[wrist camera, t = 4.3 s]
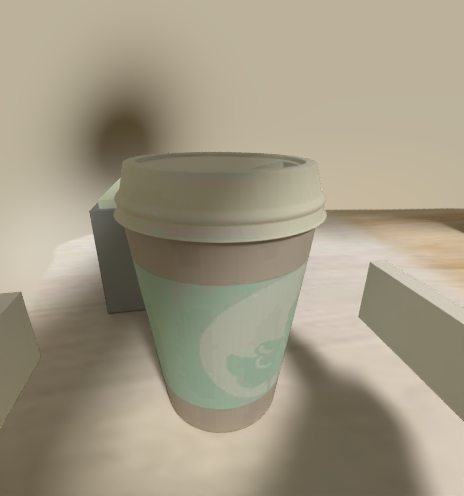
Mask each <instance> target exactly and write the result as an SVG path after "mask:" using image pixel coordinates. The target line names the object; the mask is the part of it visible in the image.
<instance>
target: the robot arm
mask: <svg viewBox="0 0 464 496" xmlns="http://www.w3.org/2000/svg"><path fill="white" fill-rule="evenodd" d="M358 317H359V318H360V319H361V320H362V321H363V322H364V323H365V324H366V325H367V326H368V327H369V328H370V329H371V330H372V331H373V332H374V333H375V334H376V335H377V336H378V337H379V338H380V339H381V340H382V341H383V342H384V343H385V344H386V345H387V346H388V347H389V348H390V349H391V350H392V351H394V352H395V353H396V354H397V355H398V356H399V357H400V358H401V359H402V360H403V361H404V362H405V363H406V364H407V365H408V366H409V367H410V368H411V369H412V370H413V371H414V372H415V373H416V374H417V375H418V376H419V377H420V378H421V379H422V380H423V381H424V382H425V383H426V384H427V385H428V386H429V387H430V388H431V389H432V390H433V391H434V392H435V393H436V394H437V395H438V396H439V397H440V398H441V399H442V400H443V401H444V402H445V403H446V404H447V405H448V406H449V407H450V408H451V409H452V410H453V411H454V412H455V413H456V414H457V415H458V416H459V417H460V418H461V419H462V420H463V421H464V308H463V307H461V306H460V305H458V304H457V303H455V302H453V301H452V300H450V299H448V298H447V297H445V296H443V295H442V294H440V293H438V292H437V291H435V290H434V289H432V288H430V287H429V286H427V285H425V284H424V283H422V282H420V281H419V280H417V279H416V278H414V277H412V276H411V275H409V274H407V273H406V272H404V271H402V270H401V269H399V268H397V267H396V266H394V265H393V264H391V263H389V262H388V261H376V262H370V265H369V269H368V274H367V279H366V283H365V288H364V293H363V297H362V302H361V307H360V312H359V316H358ZM40 357H41V354H40V351H39V348H38V344H37V341H36V338H35V335H34V332H33V329H32V325H31V322H30V319H29V316H28V313H27V309H26V306H25V303H24V300H23V297H22V293H21V292H14V293H3V294H0V429H1V427H2V425H3V423H4V421H5V420H6V418H7V416H8V414H9V412H10V411H11V409H12V407H13V405H14V404H15V402H16V400H17V398H18V396H19V395H20V393H21V391H22V389H23V388H24V386H25V384H26V382H27V380H28V379H29V377H30V375H31V373H32V372H33V370H34V368H35V366H36V364H37V363H38V361H39V359H40Z"/></svg>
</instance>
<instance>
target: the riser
mask: <svg viewBox="0 0 464 496" xmlns="http://www.w3.org/2000/svg"><path fill="white" fill-rule="evenodd" d="M120 179H121V178H120ZM120 179H119V180H118V181H117V182H116V183H115V184H114V185H113V186H112V187H111V188H110V189H109V190H108V191H107V192H106V193H105V194H104V195H102V197H100V198H99V200H98V203H97V204H96V205H95V206H94V207H93V208H92V209H91V210H90V211H89V212H90V217H91V223H92V228H93V234H94V239H95V245H96V250H97V255H98V261H99V266H100V272H101V277H102V283H103V288H104V294H105V299H106V304H107V310H108V313H116V312H126V311H136V310H146V308H145V304H144V300H143V297H142V293H141V289H140V285H139V282H138V278H137V274H136V270H135V266H134V263H133V259H132V255H131V251H130V247H129V243H128V239H127V235H126V232H125V228H124V226H122V225H120V224H119V223H118V222H117V221H116V220H115V218H114V211H115V210H116V206H117V204H116V202H115V200H114V197H115V194H116V192H117V191H118V190H119V187H120Z"/></svg>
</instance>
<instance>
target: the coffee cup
mask: <svg viewBox="0 0 464 496" xmlns="http://www.w3.org/2000/svg"><path fill="white" fill-rule="evenodd" d="M114 200H115V202H116V204H117V206H116V210H115V211H114V218H115V220H116V221H117V222H118V223H119V224H120V225H122V226H124V228H125V232H126V235H127V239H128V243H129V247H130V251H131V255H132V259H133V263H134V266H135V270H136V274H137V278H138V282H139V285H140V289H141V293H142V297H143V300H144V304H145V308H146V312H147V316H148V319H149V323H150V327H151V331H152V334H153V338H154V342H155V346H156V350H157V353H158V357H159V361H160V365H161V368H162V372H163V376H164V379H165V383H166V387H167V390H168V394H169V398H170V401H171V404H172V406H173V408H174V410H175V411H176V413H177V414H178V415H179V416H180V417H181V418H182V419H183V420H184V421H185V422H187V423H188V424H190V425H192V426H194V427H196V428H198V429H201V430H204V431H209V432H216V433H223V432H232V431H237V430H240V429H243V428H245V427H247V426H249V425H251V424H253V423H254V422H256V421H257V420H259V419H260V418H261V417H262V416H263V415H264V414H265V412H266V411H267V410H268V408H269V406H270V404H271V402H272V399H273V396H274V392H275V388H276V384H277V381H278V377H279V373H280V369H281V365H282V361H283V357H284V353H285V349H286V345H287V341H288V337H289V333H290V329H291V325H292V321H293V317H294V313H295V309H296V305H297V301H298V297H299V293H300V289H301V285H302V281H303V277H304V273H305V269H306V265H307V261H308V257H309V253H310V249H311V245H312V240H313V236H314V232H315V228H316V227H317V226H319V225H320V224H322V223H323V222H324V221H325V219H326V217H327V213H326V211H325V209H324V204H325V201H326V196H325V194H324V193H323V191H322V190H321V184H320V177H319V170H318V164H317V162H315V161H313V160H310V159H307V158H302V157H295V156H286V155H277V154H261V153H236V152H194V153H193V152H192V153H191V152H190V153H167V154H154V155H144V156H137V157H132V158H129V159H126V160H125V161H123V164H122V172H121V179H120V187H119V190H118V191H117V192H116V194H115V197H114Z"/></svg>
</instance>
